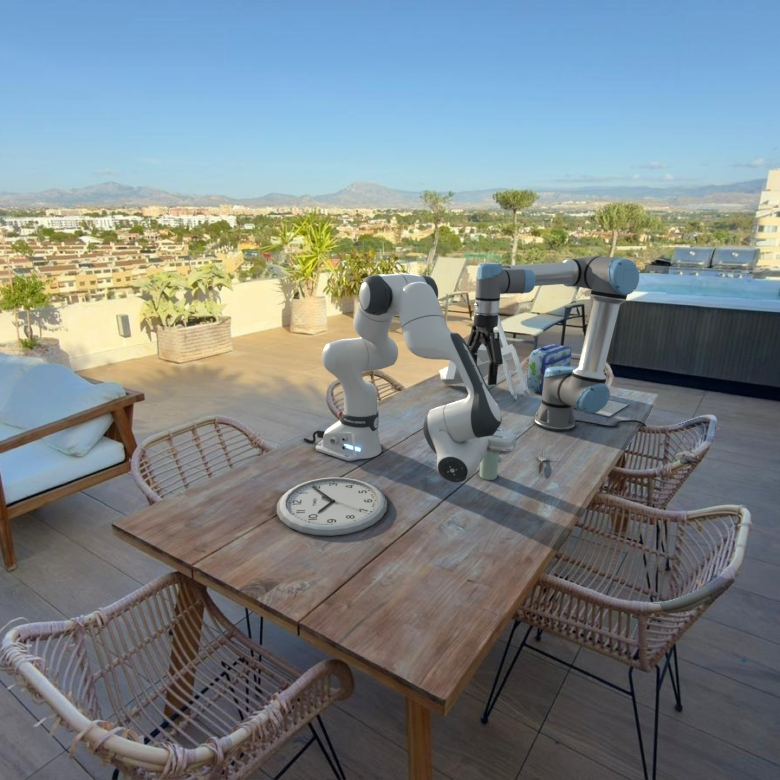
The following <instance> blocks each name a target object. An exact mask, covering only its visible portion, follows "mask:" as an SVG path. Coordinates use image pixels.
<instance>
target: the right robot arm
mask: <svg viewBox="0 0 780 780" xmlns="http://www.w3.org/2000/svg"><path fill="white" fill-rule="evenodd" d="M475 279H476V280H475V296H474V297H475V300H474V304H473V305H474V312H475V313H474V314H473V325H471V329H470V334H469V337H468V340H467V342H466V344H467V345H468V347H469V349H470V351H471V353H472V355H473V357H474V359H475V361H476V364H477V354H475V353H478V352H477V350H478V349H479V347H480V345H483V344H484V346H486V349H487V352H488V356H489V359H490V364H489V372H488V374H487V386H495V385H497V383H498V371H499V367H498V365H500V364H501V365H502V364H503V360H502V353H501V348H502V347H501V340H500V335H499V331H494V329H495V328H497V325H498V316H499V312H500V301H501V300H500V299H501V295H506V294H507V295H508V294H510V295H513V294H514V295H515V294H521V295H522V294H528V293H532V291H533V290H534V288H535V287H539V286H540V287H541V286H555V285H563V286H565V287H568V288H569V287H577V288H582V289H588V290H591V291H590V297H591V299H592V301H593V302H592V307H591V311H590V314H589V319H588V323H587V328H586V332H585V335H584V341H583V345H582V349H581V352H580V353H581V354H580V357H579V362H578V365H577V367H574V366H570V367H566V366H556V367H549V368H547V369H546V370H545V374H544V380H543V391H542V393H541V402H540V405H539V407H538V410H537V411H536V413H535V417H534V424H535V425H536V426H537V427H539V428H542V429H544V430H549V431H556V432H567V431H572V430H574V429H575V428H576V423H580V424H587V425H593V426H599V427H603V428H617V427H618V426H619V425H620V424H621V423H638V424H640V425H642V426H643V427H644V428H645V427H647V426H648V425H646V423H644V422H643V421H641V420H637V419H623V420H618V421H617V422H616V423H615V424H610V425H609V424H603V423H598V422H592V421H587V420H580V419H576V418H575V417H576V416H575V413H574V409H575V410H577V411H579V412H581V413H582V412H583V413H585V414H589V415H590V414H591V415H593V414H596V412H598V411H600V410H601V409H602V408H603V407H604V406H605V405H606V404H607V402H608V400H610V396H611V390H610V388H609V387H608V385H607V384H606V382H607V376H606V374H605V372H604V371H605V368H606V367H605V366H606V363H607V359H608V355H609V351H610V347H611V343H612V339H613V334H614V330H615V327H616V323H617V318H618V314H619V310H620V306H621V305H622V304H623V303H625V302H626V301H627V299H628V298H627V297H628V295H631V294H633V292H634V291H635V290H636V289H637V288H638V285H639V283H640V269H639V267H637V264H636V262H634V261H633V260H631V259H630V258H624V257H616V256H601V255H592V256H583V257H577V258H568V259H565V260H564V261H563V262H547V263H546V262H545V263H528V264H527V263H526V264H510V265H503V264H502V263H500V262H480V263H478V265H477V269H476V276H475ZM497 314H498V315H497ZM493 360H494V361H493ZM501 365H500V366H501Z"/></svg>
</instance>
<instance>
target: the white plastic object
mask: <svg viewBox="0 0 780 780" xmlns="http://www.w3.org/2000/svg"><path fill="white" fill-rule="evenodd" d="M497 315H498V325H497V327H496V328H497V332H499V339H500V342H501V345H502V347H501V353H502V360H503V364H500V365H498V368H499V367H500V366H502V370H503V373H504V376H505V380H506V383H507V386H508V390H509V393H510V394H511V395H512V397H513V398H514V399H515V400H517V392H516V391H517V390H516V388H515V385H514V381H513V378H512V375H511V371H510V369H509V365H508V361H510V360H513V363H514V366H515V369H516V372H517V376H518V380H519V382H520V385H521V389H522V391H523V393H524V395H525V396H526V397H528V396H531V395H530V390H529V389H528V387H527V380H526V378H525V375H524V371H523V369H522V368H523V367H522V366H521V362H520V359H519V355H518V352H517V349H516V347H515V346H514V345H513V343H511V344H508V341H507V337H506V334H505V331H504V328H503V325H502V321H501V318H500V315H499V313H497ZM477 352H478V353H475V354H477V366H478V368H479V370H480V372H481V374H482V376H483V378H485V377H486V376H488V372H489V364H490V359H489V356H488V352H487V349H486V346H484V344H483V343H482V344H481V345H480V347H479V349H478V350H477ZM448 361H449V362H448V366H446V367H444V368H442V369H440V370H439V371H438V372H439V376H440V381H442V383H443V384H444V385H445V386H449V385H458V384H464V382H463V380H462V378H461V375H460V373H459V371H458V369H457V367H456V365H455V364H454V363H453V362H452V361H450V360H448ZM493 361H494V360H493Z"/></svg>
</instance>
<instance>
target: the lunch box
mask: <svg viewBox="0 0 780 780" xmlns="http://www.w3.org/2000/svg"><path fill="white" fill-rule="evenodd" d="M571 361H572V348H571V347H570V346H567V345H566V346H565V345H561V344H556V343H555V344H554V343H553V344H548V345H545V346H541V347H539V348H536V349H534V350H532V351H531V353H530V355H529V357H528V363H527V375H526V384H527V387H528V390H529V391H532V392H533V391H534V392H539V393H540V394H542V391H543V380H544V374H545V370H546V369H547V368H549V367H556V366H566V367H571Z"/></svg>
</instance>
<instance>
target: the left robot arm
mask: <svg viewBox="0 0 780 780" xmlns="http://www.w3.org/2000/svg"><path fill="white" fill-rule="evenodd" d="M358 301H359V302H358V304H357V307H356V311H355V314H354V317H353V320H352V324H353V330H354V331H355V332H356V334H357V335H358V337H353V338H342V339H337V340H334V341H331V342H328V343H326V344H325V346H324V347H323V350H322V352H321V362H322V365H323V367H324V368H325V370H326V371H327V372H328V373H330V374H332V375H333V376H334V377H335V378H336V379H337V380H338V382H339V383H340V386H341V389H342V395H343V409H342V410H340V411H339V412H338V413H337V414H336V415H337V416H336V418H339V420H337V421H335V422H334V423H333V424H331V425H330V426H329V425H323V426H321V427H319V429H317V430H315V431H314V432H313V433H312V439H308V438H303V441H304V442H307V443H310V444H313V443H315V442H316V440H317V439H316V437H317V438H318V439H321V440H320V441H319V442H318V443H316V445H315V451H316V452H319V453H323V454H325V455H328V456H331V457H335V458H338V459H340V460H343V461H347V462H353V461H356V460H364V459H371V458H374V457H377V456H379V455H380V454H381V453H382V452H383V451H382V450H383V449H382V445H381V443H380V436H379V425H380V423H379V422H380V418H379V417H380V415H379V414H380V413H379V410H378V389H377V387H376V386H375V385H374V384H373V383H371V382H370V381H368V380H364V378H363V372H371V371H379V370H380V371H381V370H383V369H387V368H389V367H392V366H394V365H395V364H396V362H397V361H398V357H399V348H398V345H397V343H396V341H395V340H394V339H393V338H392V337H390V336H389V332H390V328H391V325H392V322H393V320H394V317H395V316H398V317H399V324H400V328H401V332H402V336H403V341H404V343H405V346H406V348H407V349H408V350H409V352H411V354H413V355H415V356H416V357H418V358H422V359H427V360H437V361H438V360H441V361H443V360H444V361H452V362H453V363H454V364H455V365H456V367H457V369H458V371H459V373H460V375H461V378H462V380H463V382H464V383H463V384H464V387H465V388H466V391H467V396H466V397H465V398H462V399H459V400H456V401H453V402H450V403H445V404H442V405H439V406H437V407H434V408H431V409H429V410H428V411H427V413H426V415H425V417H424V421H423V426H422V429H423V430H422V431H423V435H424V438H425V440H426V443H427V444H428V446H429V447H430V449H431V450H432V452H434V453H435V454H436V469H437V471H438V474H439V475H440V476H441V477H442V479H444V480H446V481H447V482H450V483H455V484H456V483H462V482H465V481H466V480H468V479H470V478H471V476H472V475H474V473H475V472H476V471H477V469H478V468H479V467H480V462H481V461H482V460H483V458H484V457H485V455H486V453H487V452H492V453H497V454H499V455H508V454H510V453H512V452H513V451H514V450H515V448H516V446H517V435H516V434H515V433H513V432H507V431H504V428H503V427H500V426H501V424H502V422H503V417H502V412H501V409H500V407H499V404H498V403H497V401H496V399H495V398H494V396H493V394H492V392H491V390H490V389H489V387H488V384H487V383H486V381H485V379H484V378H485V377H483V376H482V374H481V372H480V370H479V368H478V366H477V364H476V361H475V359H474V357H473V355H472V353H471V351H470V349H469V347H468V345H467V341H466V340H465V339H464V338H463V336H462V335H460V333H458V332H453V331H452V330H451V329H450V328H449V327H448V325H447V323H446V319H445V316H444V313H443V310H442V306H441V304H440V301H439V288H438V285H437V282H436V281H435V279H434V278H433V277H431V276H430V275H425V274H422V273H421V274H420V273H419V274H414V273H413V274H412V273H392V274H383V273H379V274H373V275H368V276H366V277H364V278H363V280H362V281H361V283H360V285H359V290H358Z"/></svg>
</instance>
